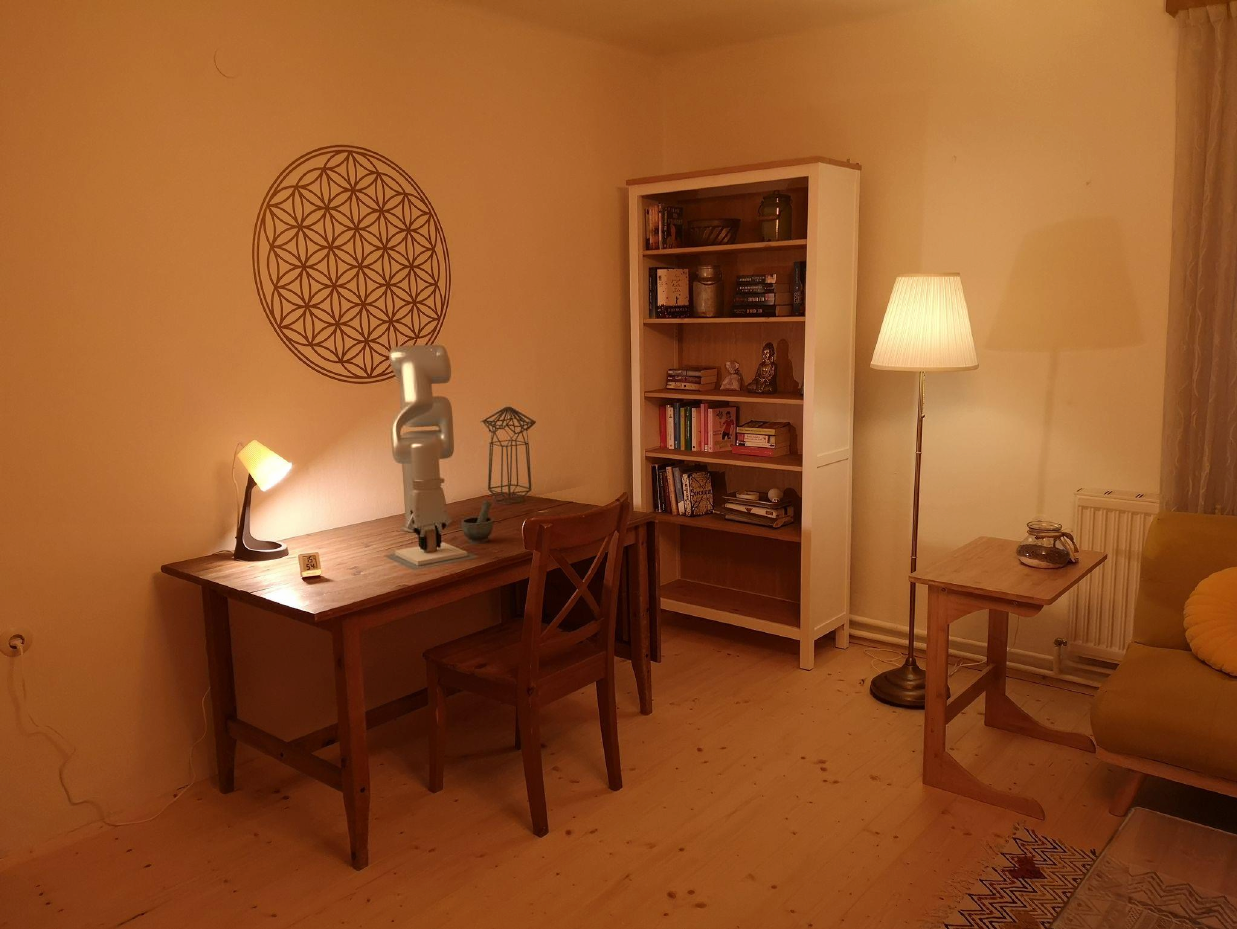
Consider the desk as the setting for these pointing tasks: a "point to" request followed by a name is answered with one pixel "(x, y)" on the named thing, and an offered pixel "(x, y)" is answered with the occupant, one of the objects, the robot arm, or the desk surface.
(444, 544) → the cover board
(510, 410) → the geometric lantern
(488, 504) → the mortar and pestle
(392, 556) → the slate mat
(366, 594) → the desk surface
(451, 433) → the robot arm
